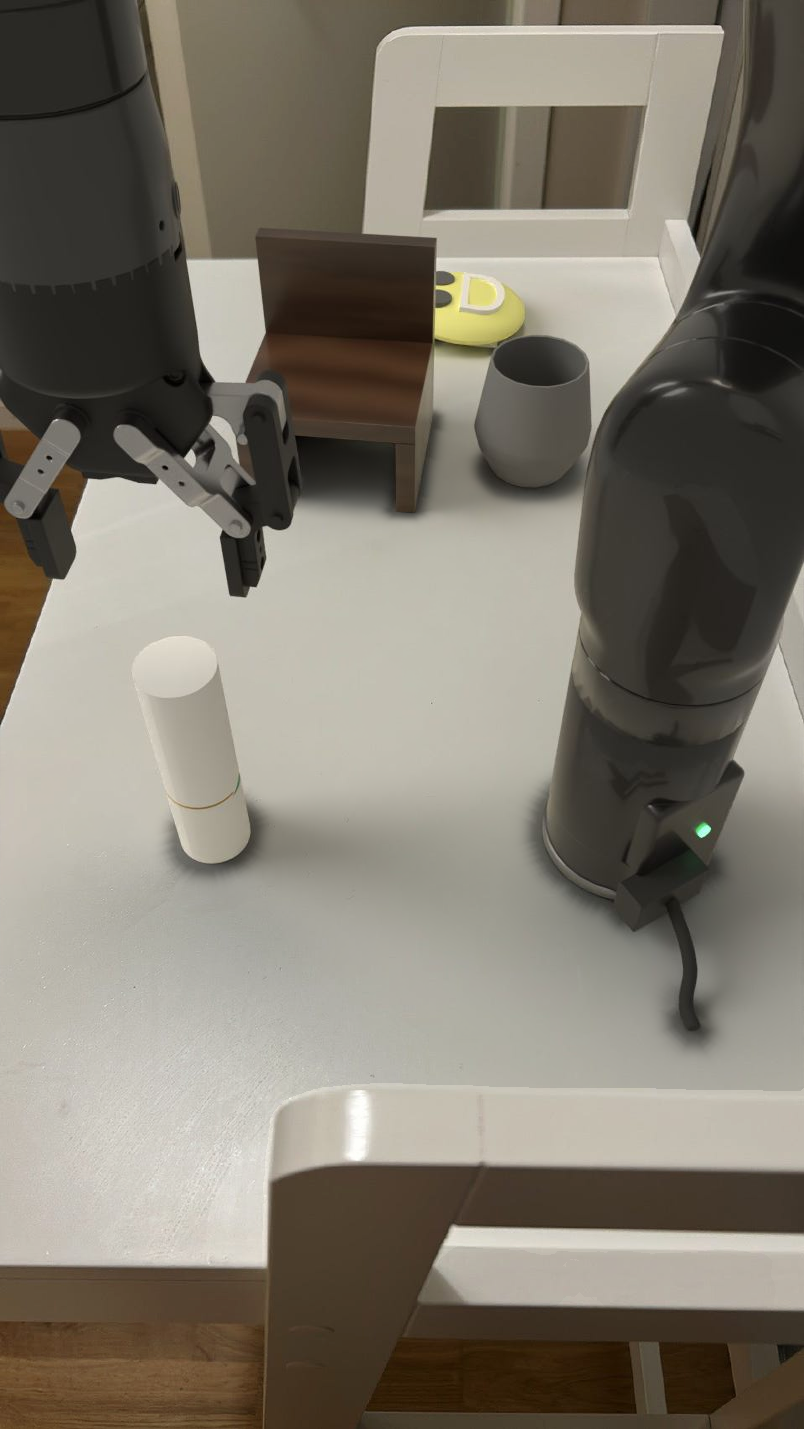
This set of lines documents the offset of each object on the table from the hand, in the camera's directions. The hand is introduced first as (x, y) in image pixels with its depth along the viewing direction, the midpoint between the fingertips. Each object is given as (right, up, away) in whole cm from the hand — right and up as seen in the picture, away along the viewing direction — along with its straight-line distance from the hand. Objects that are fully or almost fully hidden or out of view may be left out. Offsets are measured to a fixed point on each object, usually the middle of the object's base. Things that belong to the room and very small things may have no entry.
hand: (153, 576), depth 48 cm
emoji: (+18, +32, +55) cm, 66 cm away
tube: (0, -14, +16) cm, 21 cm away
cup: (+22, +14, +40) cm, 48 cm away
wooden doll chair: (+6, +15, +40) cm, 44 cm away
